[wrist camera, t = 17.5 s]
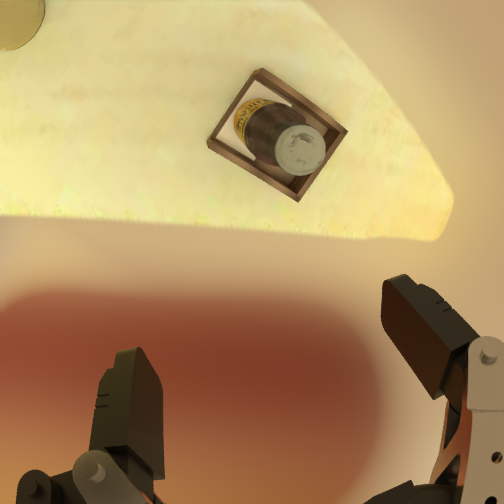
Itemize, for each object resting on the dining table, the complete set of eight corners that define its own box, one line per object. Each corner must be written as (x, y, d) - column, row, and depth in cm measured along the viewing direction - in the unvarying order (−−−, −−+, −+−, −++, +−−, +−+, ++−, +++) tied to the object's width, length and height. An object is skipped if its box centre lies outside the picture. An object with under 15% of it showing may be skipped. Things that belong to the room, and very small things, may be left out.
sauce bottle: (258, 89, 38) (314, 85, 21) (288, 124, 41) (360, 150, 23) (219, 121, 39) (244, 142, 22) (251, 155, 42) (297, 203, 25)
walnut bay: (206, 142, 41) (208, 147, 37) (254, 70, 38) (262, 67, 33) (287, 191, 46) (298, 202, 42) (332, 126, 43) (348, 131, 39)
